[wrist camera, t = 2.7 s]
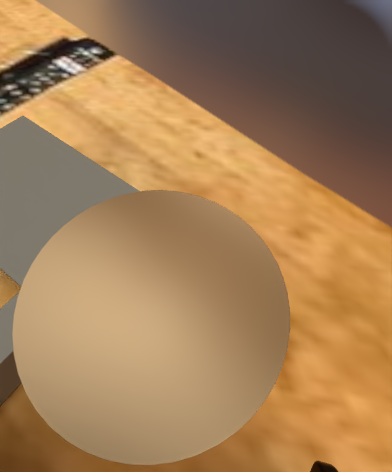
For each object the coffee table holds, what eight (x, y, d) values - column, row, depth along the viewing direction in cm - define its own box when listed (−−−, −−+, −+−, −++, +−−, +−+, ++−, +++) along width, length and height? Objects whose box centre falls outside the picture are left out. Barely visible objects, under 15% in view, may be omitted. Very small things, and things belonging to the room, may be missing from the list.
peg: (175, 444, 15) (186, 571, 4) (97, 375, 16) (-57, 324, 5) (231, 352, 17) (333, 271, 6) (160, 299, 18) (143, 155, 8)
